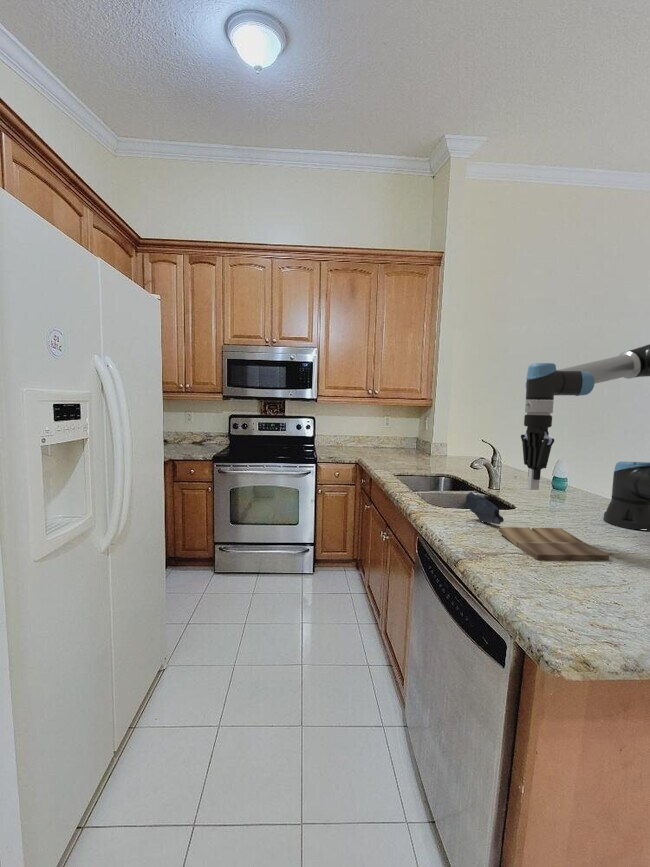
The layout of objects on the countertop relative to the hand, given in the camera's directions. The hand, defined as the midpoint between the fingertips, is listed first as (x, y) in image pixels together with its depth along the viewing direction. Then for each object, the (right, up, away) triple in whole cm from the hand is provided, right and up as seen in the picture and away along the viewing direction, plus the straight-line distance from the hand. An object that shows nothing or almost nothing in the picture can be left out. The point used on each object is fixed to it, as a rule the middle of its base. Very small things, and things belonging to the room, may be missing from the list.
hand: (533, 489), depth 120 cm
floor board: (+2, -17, -12) cm, 20 cm away
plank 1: (-5, -15, -2) cm, 16 cm away
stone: (-10, -14, +13) cm, 22 cm away
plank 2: (+6, -15, -1) cm, 17 cm away
